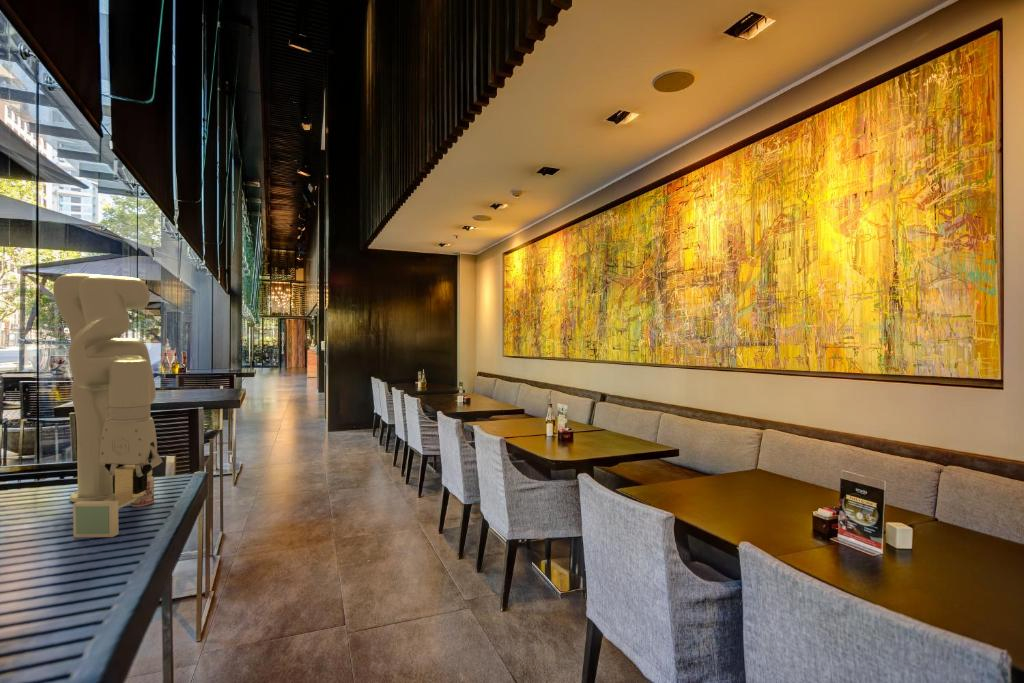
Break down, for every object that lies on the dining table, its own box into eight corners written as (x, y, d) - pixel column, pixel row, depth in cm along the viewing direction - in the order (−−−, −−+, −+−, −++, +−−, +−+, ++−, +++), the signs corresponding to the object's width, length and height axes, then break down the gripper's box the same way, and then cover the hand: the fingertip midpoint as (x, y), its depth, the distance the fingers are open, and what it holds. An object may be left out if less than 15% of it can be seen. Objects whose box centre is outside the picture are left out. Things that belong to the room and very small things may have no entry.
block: (80, 534, 105) (79, 501, 105) (118, 533, 105) (118, 500, 105) (72, 537, 104) (72, 504, 104) (112, 537, 104) (111, 503, 104)
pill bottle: (141, 507, 121) (141, 473, 121) (125, 506, 122) (124, 472, 122) (159, 501, 126) (158, 467, 126) (143, 500, 127) (142, 467, 127)
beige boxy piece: (124, 493, 118) (124, 463, 117) (148, 493, 118) (148, 464, 118) (92, 508, 109) (92, 476, 108) (118, 509, 109) (118, 477, 108)
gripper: (79, 414, 111) (79, 496, 112) (155, 417, 111) (155, 498, 112) (106, 408, 118) (106, 484, 119) (177, 411, 119) (177, 487, 120)
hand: (130, 490), depth 116 cm, fingers closed on beige boxy piece, 4 cm apart
